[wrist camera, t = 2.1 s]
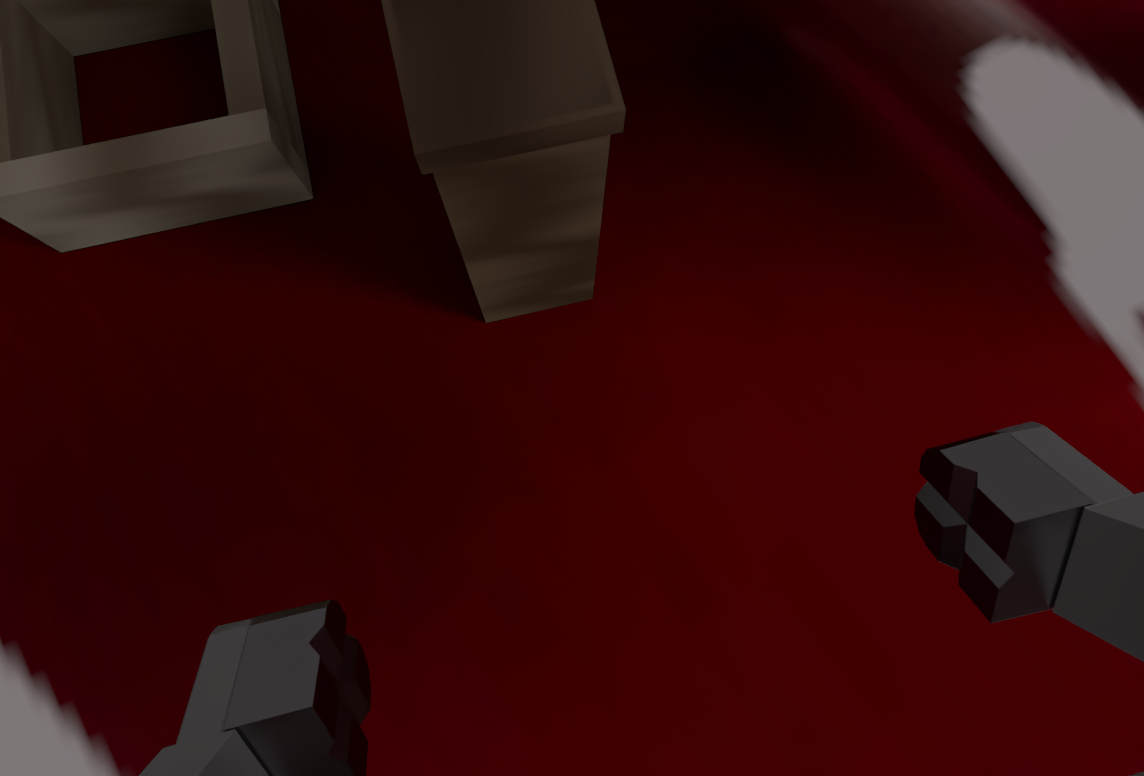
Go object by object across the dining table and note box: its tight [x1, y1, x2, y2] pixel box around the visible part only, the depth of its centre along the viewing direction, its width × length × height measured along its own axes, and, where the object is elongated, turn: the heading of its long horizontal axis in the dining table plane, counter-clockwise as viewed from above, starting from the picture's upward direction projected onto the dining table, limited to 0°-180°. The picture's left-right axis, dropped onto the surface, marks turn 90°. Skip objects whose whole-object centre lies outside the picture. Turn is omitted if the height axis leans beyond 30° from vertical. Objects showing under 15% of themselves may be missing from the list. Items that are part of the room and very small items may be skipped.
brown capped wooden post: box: [381, 0, 626, 323], centre depth 21 cm, size 4×4×12 cm
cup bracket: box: [0, 0, 313, 252], centre depth 26 cm, size 9×9×5 cm
